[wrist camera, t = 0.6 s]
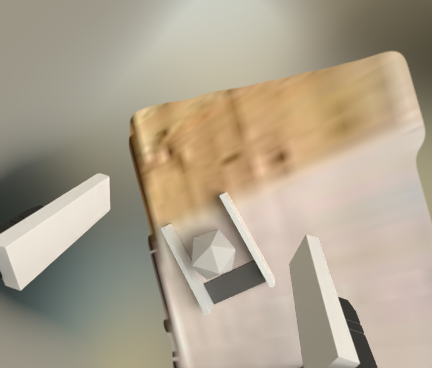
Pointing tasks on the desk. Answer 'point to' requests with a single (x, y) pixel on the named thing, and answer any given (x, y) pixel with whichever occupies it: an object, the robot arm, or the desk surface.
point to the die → (212, 254)
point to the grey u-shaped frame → (230, 281)
